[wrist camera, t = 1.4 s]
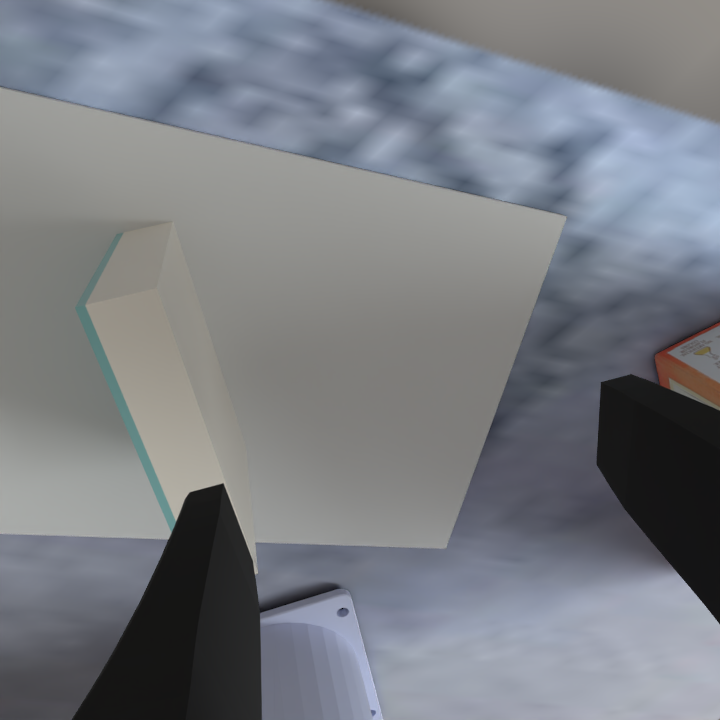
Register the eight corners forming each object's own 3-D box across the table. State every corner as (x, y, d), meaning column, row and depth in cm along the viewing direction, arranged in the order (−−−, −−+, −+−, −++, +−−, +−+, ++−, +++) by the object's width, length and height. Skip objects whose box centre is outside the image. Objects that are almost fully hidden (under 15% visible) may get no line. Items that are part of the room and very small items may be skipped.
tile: (245, 446, 21) (258, 573, 16) (200, 459, 21) (196, 591, 15) (172, 221, 17) (157, 288, 12) (116, 233, 17) (74, 307, 12)
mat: (561, 214, 20) (567, 217, 20) (442, 542, 25) (446, 548, 25) (-154, 51, 14) (-163, 50, 14) (-118, 521, 20) (-123, 529, 19)
